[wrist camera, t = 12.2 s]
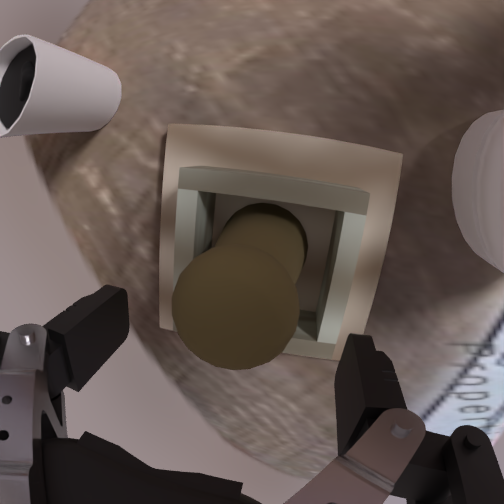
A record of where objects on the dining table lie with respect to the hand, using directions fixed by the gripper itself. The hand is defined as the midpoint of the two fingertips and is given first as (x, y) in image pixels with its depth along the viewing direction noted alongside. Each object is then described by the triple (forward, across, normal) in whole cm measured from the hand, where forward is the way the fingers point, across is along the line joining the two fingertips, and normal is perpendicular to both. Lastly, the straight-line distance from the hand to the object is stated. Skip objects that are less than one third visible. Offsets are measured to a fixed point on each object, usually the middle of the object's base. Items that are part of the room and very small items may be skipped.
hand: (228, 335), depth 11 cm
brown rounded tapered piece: (+12, 0, 0) cm, 12 cm away
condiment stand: (+13, 0, 0) cm, 13 cm away
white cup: (+13, +16, -10) cm, 23 cm away
